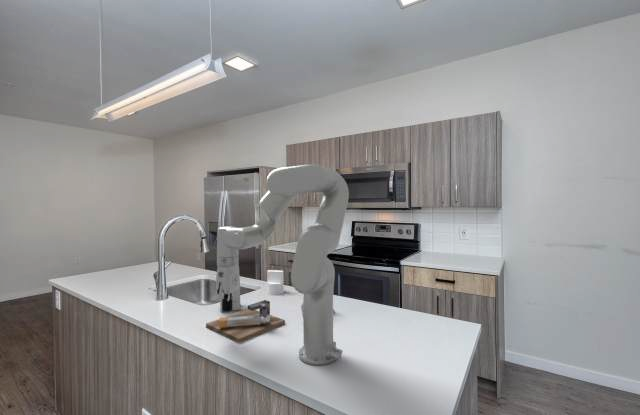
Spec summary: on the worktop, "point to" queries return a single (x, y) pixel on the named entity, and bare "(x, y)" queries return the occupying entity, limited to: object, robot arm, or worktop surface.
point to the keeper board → (246, 331)
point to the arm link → (247, 319)
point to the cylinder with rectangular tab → (275, 282)
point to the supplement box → (234, 301)
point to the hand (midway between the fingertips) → (227, 310)
